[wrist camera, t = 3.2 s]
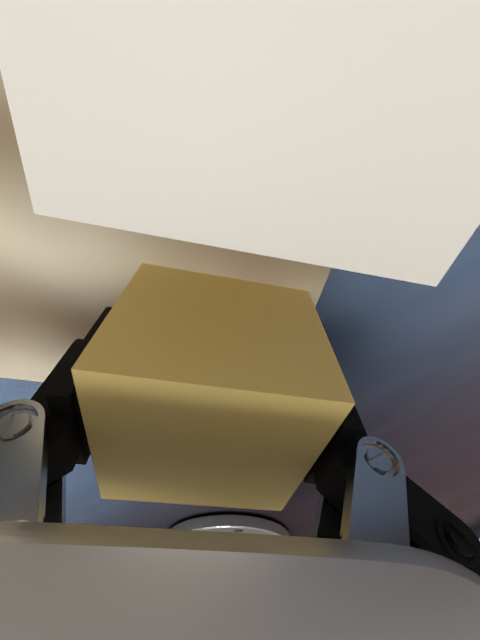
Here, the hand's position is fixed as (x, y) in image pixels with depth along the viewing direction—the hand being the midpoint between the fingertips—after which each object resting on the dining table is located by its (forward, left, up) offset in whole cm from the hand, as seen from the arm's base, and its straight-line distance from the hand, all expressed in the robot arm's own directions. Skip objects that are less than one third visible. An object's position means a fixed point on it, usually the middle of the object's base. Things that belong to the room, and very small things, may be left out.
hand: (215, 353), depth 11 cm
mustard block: (0, 0, -1) cm, 1 cm away
